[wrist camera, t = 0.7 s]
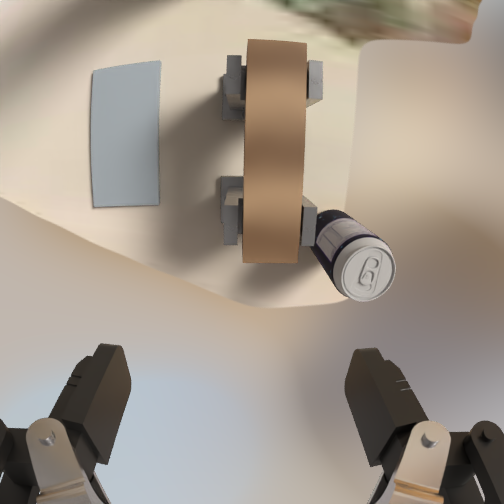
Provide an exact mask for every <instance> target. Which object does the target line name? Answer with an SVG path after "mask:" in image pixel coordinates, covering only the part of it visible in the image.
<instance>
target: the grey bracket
mask: <svg viewBox="0 0 504 504" xmlns="http://www.w3.org/2000/svg"><path fill="white" fill-rule="evenodd" d="M243 177H244V176H221V223H224V245H237V240H238V234H242V230H243ZM316 219H317V207H316V206H315V205H314V204H313V203H312V202H310V201H309V200H308V199H307V198H306V197H304V196H303V195H302V208H301V223H300V237H299V243H300V244H301V246H314V242H315V231H316Z"/></svg>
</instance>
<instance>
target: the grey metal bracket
mask: <svg viewBox="0 0 504 504" xmlns="http://www.w3.org/2000/svg"><path fill="white" fill-rule="evenodd" d="M241 58H242V56H240V55H227V74H224V76H223V107H222V120H245V95H246V66H241ZM322 98H323V62H322V61H314V60H309V61H308V62H307V80H306V108H307V107H309V106H311V105H313V104H315V103H317V102H319V101H320V100H322Z"/></svg>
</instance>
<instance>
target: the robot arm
mask: <svg viewBox="0 0 504 504" xmlns="http://www.w3.org/2000/svg"><path fill="white" fill-rule="evenodd" d="M130 392H131V377H130V373H129V369H128V366H127V362H126V358H125V355H124V351H123V348H122V346H119V345H110V344H100V345H99V346H98V348H97V349H96V351H95V353H94V355H93V357H92V356H86V357H85V358H84V359H83V360H81V361H80V362H79V363H78V364H77V365H76V367H75V369H74V370H73V372H72V374H71V377H70V378H69V380H68V381H67V385H66V386H65V387H64V389H63V390H62V392H61V394H60V396H59V398H58V400H57V402H56V404H55V406H54V408H53V409H52V411H51V413H50V415H49V417H48V418H42V419H39V420H37V421H35V422H34V423H32V424H31V426H30V427H29V428H28V429H21V428H7V427H6V425H5V424H4V423H3V421H2V420H1V419H0V477H1V474H2V472H4V474H3V477H2V480H1V483H0V504H36V503H37V504H111V502H110V501H109V499H108V497H107V495H106V493H105V491H104V489H103V487H102V485H101V483H100V481H99V479H98V478H97V475H96V473H95V471H94V469H95V466H96V463H101V464H105V465H108V462H109V458H110V455H111V451H112V448H113V445H114V442H115V438H116V435H117V432H118V429H119V425H120V422H121V419H122V416H123V413H124V410H125V407H126V404H127V401H128V398H129V395H130ZM345 395H346V398H347V401H348V404H349V407H350V409H351V412H352V415H353V418H354V421H355V424H356V426H357V429H358V432H359V435H360V438H361V441H362V443H363V447H364V450H365V453H366V455H367V459H368V462H369V465H370V467H373V466H377V465H382V467H383V470H384V471H383V472H382V473H381V476H380V478H379V480H378V482H377V484H376V486H375V488H374V490H373V492H372V495H371V496H370V498H369V500H368V502H367V504H504V434H503V432H502V430H501V429H500V428H499V427H498V426H497V425H496V424H495V423H493V422H490V421H480V422H478V423H477V424H475V425H474V426H473V428H472V429H471V430H470V432H448V430H447V429H446V428H445V427H444V426H443V425H441V424H440V423H438V422H434V421H429V419H428V418H427V416H426V414H425V412H424V411H423V409H422V407H421V405H420V403H419V401H418V400H417V398H416V396H415V394H414V392H413V391H412V390H411V389H410V385H409V384H408V382H407V381H406V379H405V377H404V375H403V374H402V372H401V370H400V368H398V367H397V366H396V365H395V364H394V363H392V362H391V361H390V360H386V361H384V359H383V357H382V356H381V354H380V352H379V350H378V349H377V348H365V349H356V350H355V351H354V353H353V356H352V359H351V363H350V366H349V369H348V373H347V376H346V379H345ZM475 474H476V476H477V478H478V481H479V483H480V486H481V488H482V490H483V493H484V496H485V502H484V501H483V498H482V496H481V493H480V491H479V488H478V486H477V484H476V481H475V479H474V477H473V476H474V475H475ZM39 492H40V494H39Z"/></svg>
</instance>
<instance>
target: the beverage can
mask: <svg viewBox="0 0 504 504" xmlns="http://www.w3.org/2000/svg"><path fill="white" fill-rule="evenodd" d="M310 248H311V250H312V251H313V253H314V254H315V256H316V257H317V259H318V260H319V262H320V264H321V265H322V267H323V268H324V270H325V271H326V273H327V274H328V276H329V278H330V279H331V281H332V282H333V284H334V286H335V287H336V289H337V290H338V291H339V292H340V293H341V294H343V295H344V296H346V297H349V298H351V299H353V300H356V301H360V302H367V301H371V300H374V299H376V298H378V297H380V296H381V295H382V294H384V293H385V292H386V291H387V290H388V288H389V287H390V285H391V284H392V282H393V280H394V277H395V271H396V265H395V261H394V258H393V255H392V252H391V250H390V248H389V246H388V245H387V244H386V243H385V242H384V241H383V240H381V239H380V238H379V237H378V236H376V235H375V234H373V233H372V232H371V231H370V230H368V229H367V228H365V227H364V226H363V225H361V224H360V223H358V222H357V221H356V220H354V219H353V218H351V217H350V216H348V215H347V214H346V213H344V212H342V211H339V210H327V211H324V212H322V213H320V214H319V215H317V219H316V231H315V242H314V246H310Z"/></svg>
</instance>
